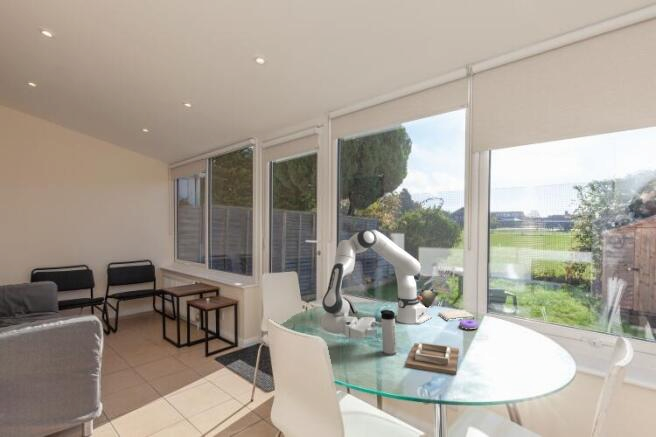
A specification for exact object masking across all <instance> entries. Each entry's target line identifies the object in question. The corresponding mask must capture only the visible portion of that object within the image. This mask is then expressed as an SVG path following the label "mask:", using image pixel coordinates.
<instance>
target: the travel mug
mask: <svg viewBox="0 0 656 437" xmlns="http://www.w3.org/2000/svg"><path fill="white" fill-rule="evenodd" d="M379 312H380V315H381V318H380V319H381V323H382V327H381V335H382V336H381V338H382V340H381V341H382V353H383V354H384V355H387V356H394V355H396V354H397V337H396V319H395V318H396V315H395V312H394V311H393V310H390V309H382V310H380V311H379Z"/></svg>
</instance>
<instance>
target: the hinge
mask: <svg viewBox="0 0 656 437" xmlns="http://www.w3.org/2000/svg"><path fill="white" fill-rule="evenodd" d="M341 297H342V296H341ZM342 298H344V299H345V300H347V301H348V302H349V305H350V311H349V314H350V315H354V313H357V314H358V313H359V312H358V310H357V309H356V308H355V306H354V304H353V302H352V300H350V299H349V298H348V297H346V296H343V297H342Z"/></svg>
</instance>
